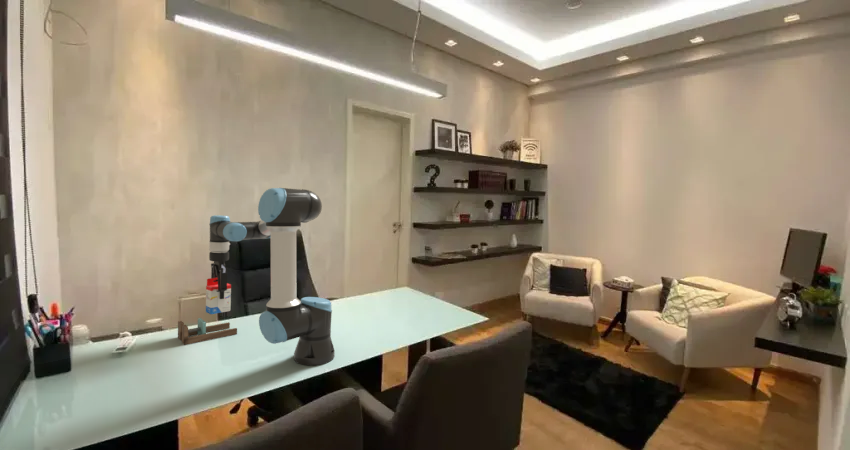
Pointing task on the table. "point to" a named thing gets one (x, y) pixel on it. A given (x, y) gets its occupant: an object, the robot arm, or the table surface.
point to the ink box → (212, 297)
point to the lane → (186, 340)
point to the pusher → (199, 327)
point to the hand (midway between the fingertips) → (218, 304)
